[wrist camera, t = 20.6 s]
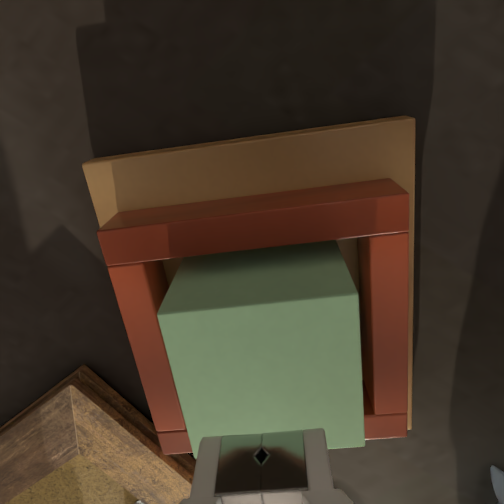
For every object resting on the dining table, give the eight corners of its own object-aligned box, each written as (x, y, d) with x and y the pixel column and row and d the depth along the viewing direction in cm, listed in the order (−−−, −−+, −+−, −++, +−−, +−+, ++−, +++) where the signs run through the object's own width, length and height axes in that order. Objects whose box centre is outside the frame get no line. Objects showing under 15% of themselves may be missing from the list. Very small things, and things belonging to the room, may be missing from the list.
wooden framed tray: (91, 158, 15) (51, 176, 12) (406, 114, 14) (441, 123, 11) (169, 431, 20) (153, 489, 17) (405, 413, 19) (429, 471, 16)
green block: (183, 256, 15) (155, 313, 11) (335, 238, 15) (358, 293, 11) (209, 377, 17) (194, 459, 13) (343, 365, 17) (365, 446, 13)
